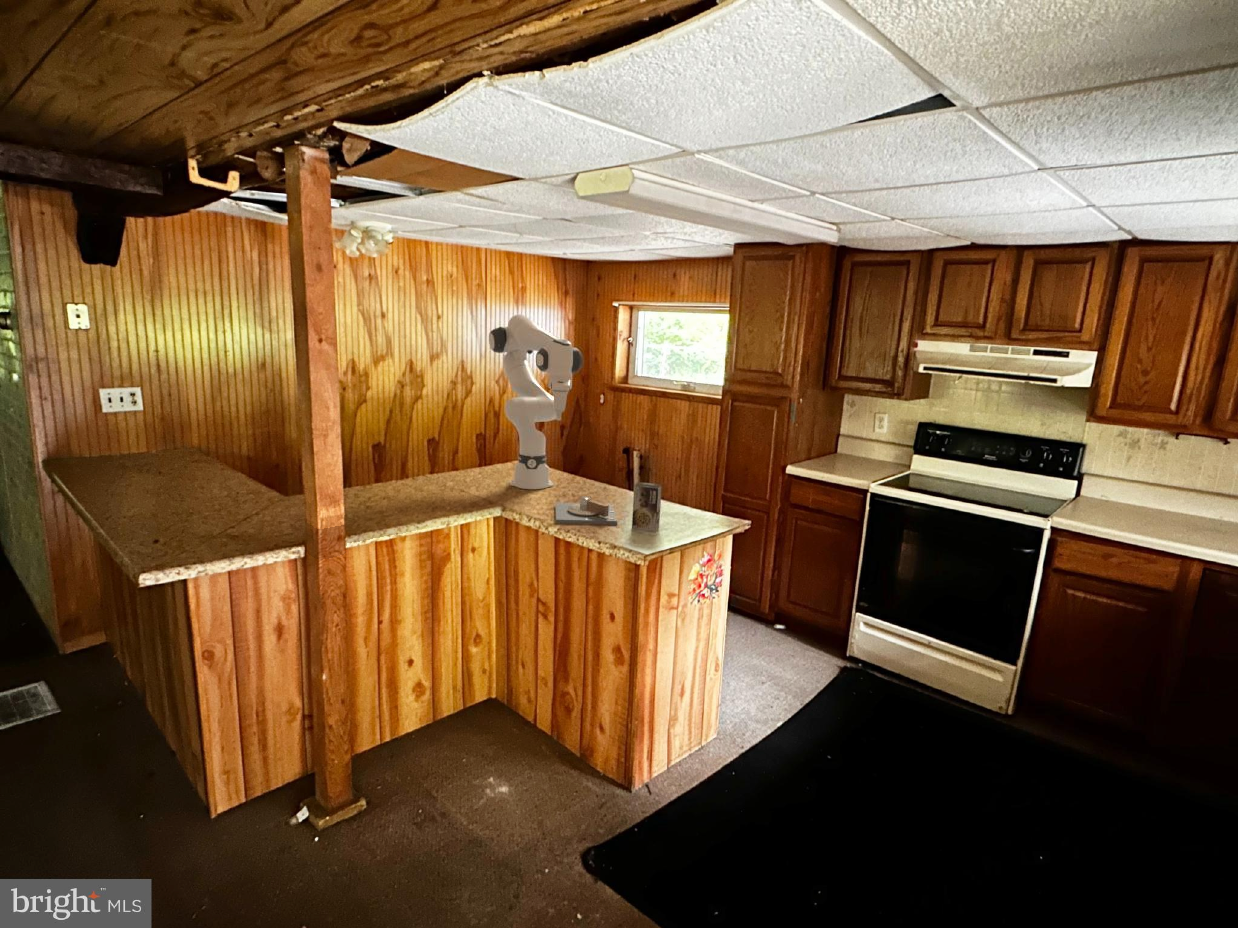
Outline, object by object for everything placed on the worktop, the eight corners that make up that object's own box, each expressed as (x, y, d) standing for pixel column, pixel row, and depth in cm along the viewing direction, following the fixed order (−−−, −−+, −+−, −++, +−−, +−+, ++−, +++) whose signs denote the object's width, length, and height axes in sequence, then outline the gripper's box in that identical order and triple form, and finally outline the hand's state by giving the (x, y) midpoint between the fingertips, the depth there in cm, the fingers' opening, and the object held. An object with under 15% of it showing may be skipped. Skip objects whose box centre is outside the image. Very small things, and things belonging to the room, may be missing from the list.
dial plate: (555, 506, 256) (555, 502, 255) (611, 507, 258) (611, 503, 258) (555, 523, 234) (556, 519, 234) (617, 525, 237) (617, 520, 236)
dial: (560, 509, 245) (561, 497, 244) (585, 503, 255) (585, 491, 254) (593, 520, 234) (594, 507, 233) (618, 514, 243) (619, 501, 242)
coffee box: (659, 527, 237) (662, 484, 234) (655, 532, 231) (659, 488, 228) (635, 524, 239) (638, 481, 236) (630, 529, 233) (633, 485, 230)
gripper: (551, 380, 256) (550, 415, 259) (551, 386, 236) (550, 423, 239) (567, 381, 257) (566, 416, 260) (569, 386, 237) (567, 424, 240)
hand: (558, 420), depth 249 cm, fingers closed
